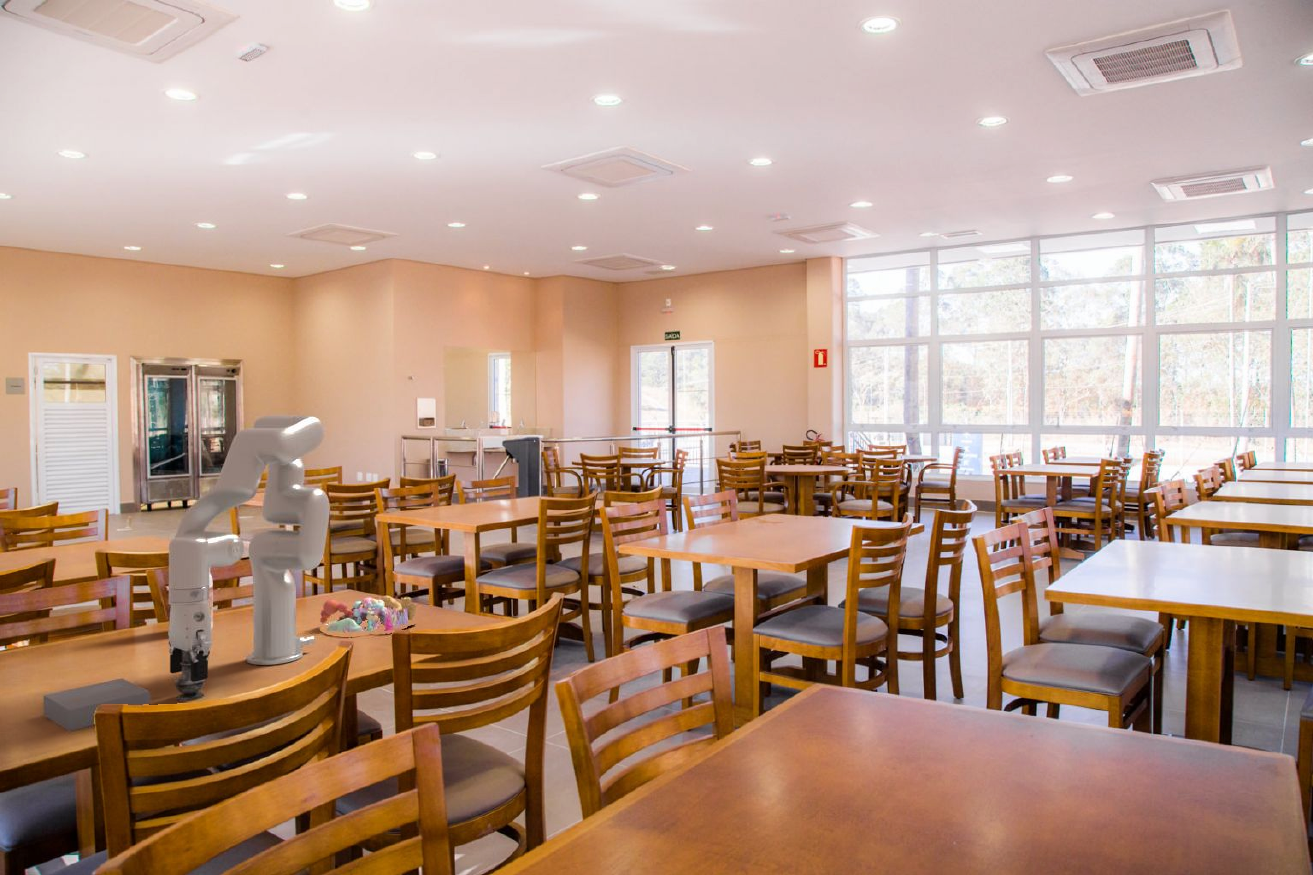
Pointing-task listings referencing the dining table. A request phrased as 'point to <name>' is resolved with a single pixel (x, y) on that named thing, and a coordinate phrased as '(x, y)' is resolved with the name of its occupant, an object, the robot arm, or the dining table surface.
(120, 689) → the stand
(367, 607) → the candy landscape model
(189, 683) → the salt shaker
